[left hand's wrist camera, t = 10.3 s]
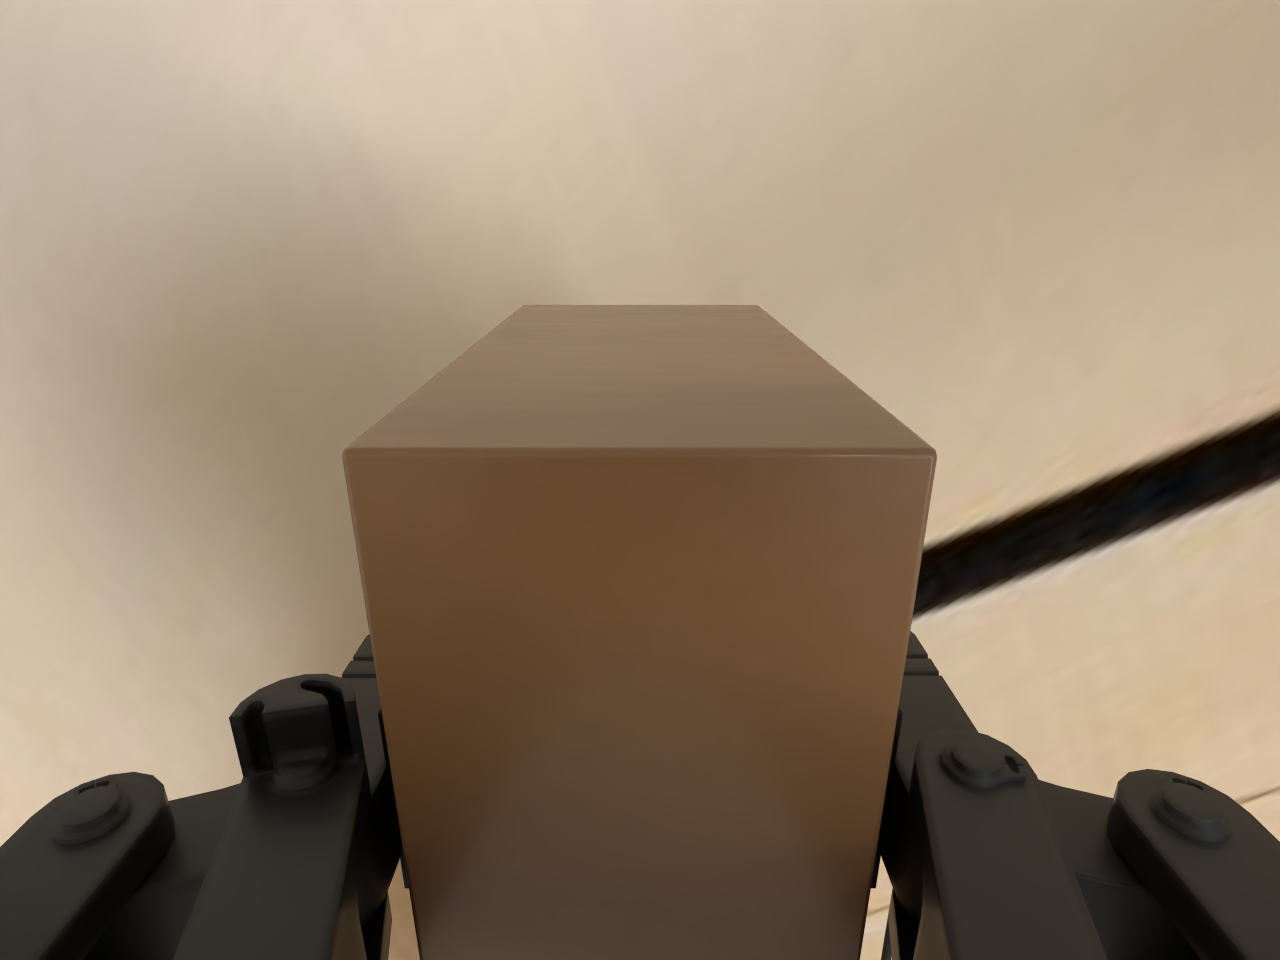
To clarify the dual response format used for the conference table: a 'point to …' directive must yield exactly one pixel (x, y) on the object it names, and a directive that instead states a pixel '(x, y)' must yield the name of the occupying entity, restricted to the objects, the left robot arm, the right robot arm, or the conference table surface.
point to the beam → (639, 635)
